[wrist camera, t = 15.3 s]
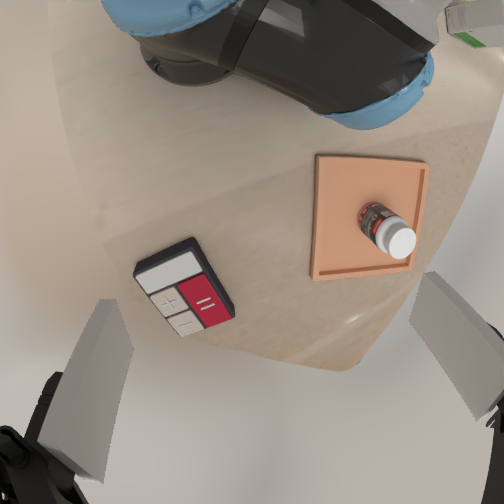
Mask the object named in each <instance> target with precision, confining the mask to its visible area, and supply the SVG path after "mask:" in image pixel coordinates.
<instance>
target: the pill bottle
mask: <svg viewBox="0 0 504 504" xmlns="http://www.w3.org/2000/svg"><path fill="white" fill-rule="evenodd" d="M358 226H359V228H360V230H361V231H362V232H363V233H364V234H365V235H366V236H367V237H368V238H369V239H370V240H371V241H372V242H373V243H374V244H375V245H376V246H377V247H378V248H379V249H380V250H381V251H383V252H385V253H388V254H390V255H391V256H392V257H393V258H395V259H403V258H405V257H407V256H408V255H409V254H410V253H411V252H412V251H413V249H414V247H415V244H416V235H415V233H414V231H413V230H412V229H411V228H409V227H408V224H407V222H406V221H405V220H404V219H403V218H402V217H400V216H399V215H397V214H396V213H394V212H393V211H392V210H390V209H389V208H387V207H386V206H384V205H383V204H381V203H378V202H372V203H369V204H367V205H366V206H364V207H363V208H362V210H361V211H360V213H359V216H358Z"/></svg>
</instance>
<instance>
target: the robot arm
mask: <svg viewBox="0 0 504 504" xmlns="http://www.w3.org/2000/svg"><path fill="white" fill-rule="evenodd" d="M101 1H102V4H103V7H104V9H105V11H106V12H107V14H108V15H109V16H110V18H111V19H112V21H113V23H115V24H116V26H117V27H119V28H120V30H122V31H124V32H127V33H128V34H130V35H131V36H132V37H133V38H135V39H136V40H137V41H138V42H140V48H141V52H142V55H143V58H144V60H145V62H146V63H147V65H148V66H149V67H150V69H151V70H152V71H153V72H155V73H156V74H157V75H158V76H160V77H162V78H163V79H165V80H167V81H169V82H171V83H174V84H177V85H182V86H204V85H208V84H212V83H215V82H218V81H220V80H222V79H224V78H226V77H228V76H229V75H231V74H232V73H236V74H238V75H241V76H243V77H246V78H248V79H251V80H253V81H255V82H258V83H260V84H262V85H265V86H267V87H269V88H271V89H273V90H276V91H278V92H280V93H282V94H284V95H286V96H288V97H290V98H292V99H294V100H296V101H298V102H300V103H302V104H304V105H306V106H308V107H309V109H310V110H311V111H313V112H314V113H316V114H317V115H320V116H324V117H327V118H330V119H332V120H334V121H336V122H338V123H340V124H342V125H344V126H346V127H348V128H352V129H357V130H369V129H375V128H378V127H381V126H384V125H386V124H389V123H391V122H392V121H394V120H396V119H398V118H399V117H401V116H402V115H404V114H405V113H406V112H407V111H409V110H410V109H411V108H412V107H413V106H414V105H415V104H416V103H417V102H418V101H419V100H420V98H421V97H422V96H423V94H424V92H423V90H422V89H423V88H424V87H426V86H428V85H430V83H431V80H432V77H433V74H434V61H433V58H432V56H431V54H430V50H431V49H432V48H433V47H434V46H435V45H436V44H437V43H438V42H439V34H438V26H437V17H438V14H439V13H440V12H441V11H442V10H443V9H444V8H445V7H447V6H448V5H449V4H450V3H451V2H452V1H453V0H101ZM409 322H410V323H411V325H412V326H413V327H414V329H415V330H416V331H417V333H418V334H419V335H420V337H421V338H422V339H423V341H424V342H425V344H426V345H427V346H428V348H429V349H430V351H431V352H432V353H433V355H434V356H435V358H436V359H437V361H438V362H439V364H440V365H441V366H442V368H443V369H444V371H445V372H446V374H447V375H448V377H449V378H450V380H451V381H452V383H453V384H454V386H455V387H456V389H457V390H458V392H459V393H460V395H461V397H462V398H463V400H464V401H465V403H466V405H467V406H468V408H469V410H470V411H471V413H472V414H473V416H474V418H475V419H476V421H479V420H480V419H482V418H484V417H485V416H487V415H489V413H490V412H491V411H492V410H493V409H494V408H495V406H496V405H497V406H498V408H499V409H498V410H497V411H496V412H495V413H494V415H493V416H492V417H491V418H490V419H489V420H488V422H487V424H486V427H488V426H489V425H490V424H491V423H492V422H493V421H494V420H495V422H494V423H493V424H492V425H491V428H494V436H493V445H492V453H491V459H490V466H489V471H488V476H487V481H486V485H485V490H484V494H483V499H482V502H481V504H504V338H503V336H502V335H501V334H500V333H499V331H498V330H497V329H496V328H494V327H493V326H491V325H490V324H488V323H487V322H486V321H485V320H484V319H483V318H482V317H481V316H480V315H479V314H478V313H477V312H476V311H475V310H474V309H473V308H472V307H471V306H470V305H469V304H468V303H467V302H466V301H465V300H464V299H463V298H462V297H461V296H460V295H459V294H458V293H457V292H456V291H455V290H454V289H453V288H452V287H451V286H450V285H449V284H448V283H447V282H446V281H445V280H444V279H442V278H441V277H440V276H439V275H438V274H437V273H436V272H428V273H423V276H422V280H421V283H420V287H419V290H418V293H417V297H416V300H415V303H414V306H413V309H412V312H411V315H410V318H409ZM133 350H134V348H133V345H132V343H131V340H130V337H129V335H128V332H127V329H126V327H125V324H124V321H123V318H122V315H121V312H120V309H119V306H118V304H117V300H116V299H103V300H102V299H100V300H99V302H98V304H97V305H96V307H95V309H94V311H93V313H92V315H91V317H90V319H89V321H88V323H87V324H86V326H85V328H84V330H83V333H82V334H81V336H80V338H79V340H78V342H77V345H76V347H75V349H74V351H73V353H72V355H71V357H70V359H69V362H68V364H67V366H66V368H65V370H64V373H63V372H55V373H54V374H53V375H52V376H51V377H50V378H49V379H48V380H47V382H46V384H45V387H44V389H43V391H42V395H40V398H39V400H38V405H36V407H35V410H34V412H33V415H32V418H31V420H30V423H29V426H28V428H27V431H26V433H25V436H24V438H23V437H22V436H21V435H19V433H18V432H17V431H16V430H14V429H13V428H12V427H10V426H6V425H5V426H1V427H0V504H89V503H88V502H87V500H86V498H85V497H84V495H83V493H82V491H81V490H80V488H79V486H78V484H77V483H76V482H75V481H74V476H75V474H77V475H78V476H80V477H81V478H82V479H84V480H88V481H92V482H96V483H100V484H103V482H104V476H105V470H106V464H107V458H108V453H109V448H110V443H111V438H112V434H113V429H114V424H115V419H116V415H117V411H118V407H119V403H120V398H121V394H122V390H123V387H124V383H125V379H126V375H127V372H128V368H129V364H130V361H131V357H132V354H133ZM2 493H4V495H5V498H4V500H3V499H2Z"/></svg>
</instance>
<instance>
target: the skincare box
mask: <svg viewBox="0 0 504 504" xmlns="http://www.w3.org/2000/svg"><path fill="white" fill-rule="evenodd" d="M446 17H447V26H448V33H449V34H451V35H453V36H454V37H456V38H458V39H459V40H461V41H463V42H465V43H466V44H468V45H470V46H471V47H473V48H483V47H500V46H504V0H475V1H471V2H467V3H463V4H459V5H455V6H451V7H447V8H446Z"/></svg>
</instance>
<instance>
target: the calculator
mask: <svg viewBox="0 0 504 504" xmlns="http://www.w3.org/2000/svg"><path fill="white" fill-rule="evenodd" d="M133 277H134V278H135V280H136V281H137V283H138V284H139V285H140V287H141V288H142V289H143V291H144V292H145V293H146V295H147V296H148V297H149V299H150V300H151V301H152V302H153V304H154V305H155V306H156V308H157V309H158V310H159V311H160V313H161V314H162V315H163V317H164V318H165V319H166V320H167V321H168V323H169V324H170V325H171V326H172V328H173V329H174V330H175V331H176V332H177V334H178V335H179V336H181V337H183V336H186V335H189V334H191V333H194V332H197V331H200V330H203V329H205V328H208V327H211V326H214V325H216V324H219V323H222V322H224V321H227V320H230V319H232V318H234V317H235V309H234V305H233V303H232V302H231V300H230V298H229V297H228V295H227V293H226V291H225V290H224V288H223V286H222V285H221V283H220V281H219V280H218V278H217V276H216V275H215V273H214V271H213V270H212V268H211V266H210V265H209V263H208V261H207V259H206V257H205V255H204V253H203V251H202V250H201V248H200V246H199V244H198V242H197V241H196V239H195V238H194V237H191V238H188V239H186V240H184V241H182V242H180V243H178V244H175V245H173V246H171V247H169V248H167V249H165V250H163V251H161V252H158V253H156V254H154V255H152V256H150V257H148V258H146V259H144V260H142V261H140V262H138V263H137V265H136V267H135V270H134V272H133Z"/></svg>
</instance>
